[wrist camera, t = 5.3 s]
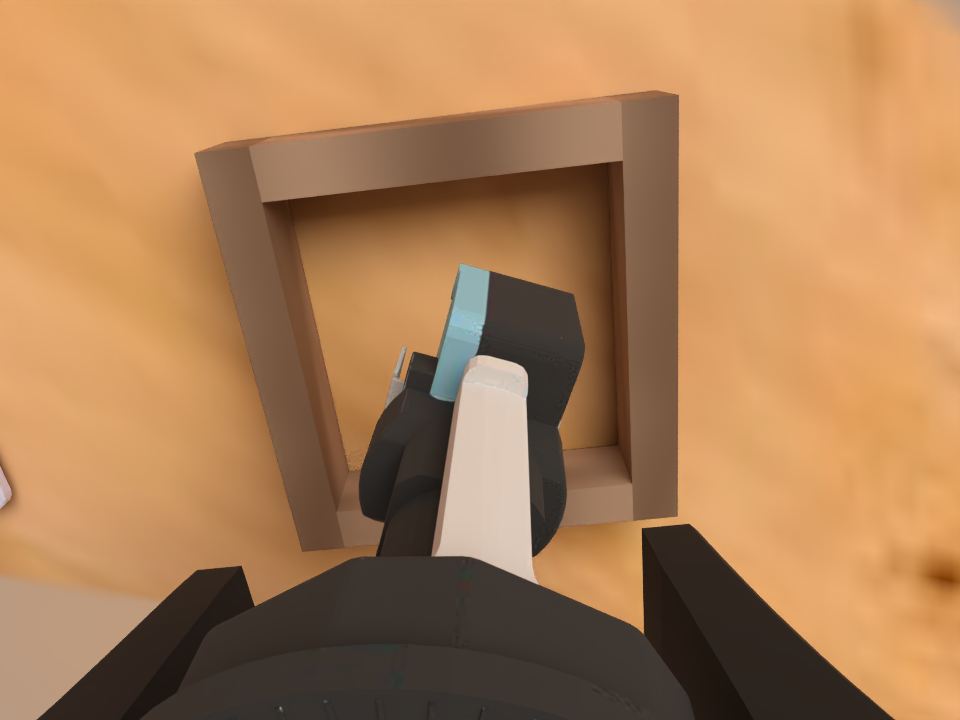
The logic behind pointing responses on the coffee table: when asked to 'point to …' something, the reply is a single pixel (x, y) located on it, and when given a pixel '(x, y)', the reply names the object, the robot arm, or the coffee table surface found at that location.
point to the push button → (448, 556)
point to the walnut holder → (444, 157)
